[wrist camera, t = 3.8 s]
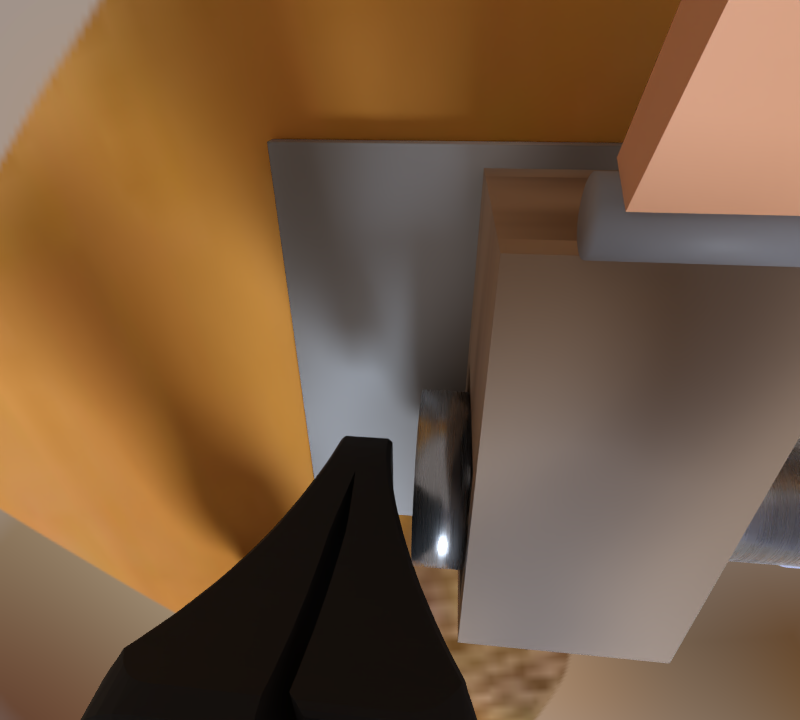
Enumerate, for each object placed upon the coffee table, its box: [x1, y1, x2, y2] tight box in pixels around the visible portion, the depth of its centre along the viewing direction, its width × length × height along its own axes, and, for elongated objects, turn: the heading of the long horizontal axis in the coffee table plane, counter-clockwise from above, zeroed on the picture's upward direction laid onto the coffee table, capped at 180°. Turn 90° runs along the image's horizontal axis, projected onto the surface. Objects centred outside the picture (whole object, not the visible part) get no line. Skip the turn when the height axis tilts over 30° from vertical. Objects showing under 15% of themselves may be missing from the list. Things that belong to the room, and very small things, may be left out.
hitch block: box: [267, 139, 800, 663], centre depth 12 cm, size 12×12×6 cm
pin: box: [411, 390, 800, 570], centre depth 12 cm, size 10×4×4 cm, turn 90°
